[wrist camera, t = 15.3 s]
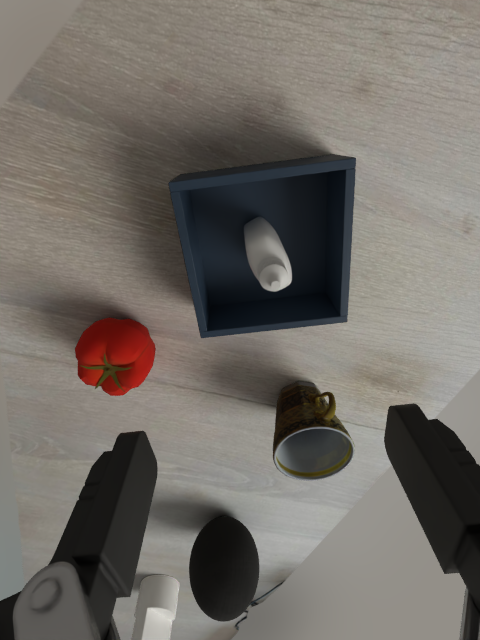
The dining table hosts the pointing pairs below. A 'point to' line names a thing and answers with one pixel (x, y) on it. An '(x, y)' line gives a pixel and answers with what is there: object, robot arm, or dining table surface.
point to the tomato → (115, 355)
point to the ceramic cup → (309, 434)
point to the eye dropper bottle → (267, 255)
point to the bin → (294, 233)
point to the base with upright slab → (155, 608)
